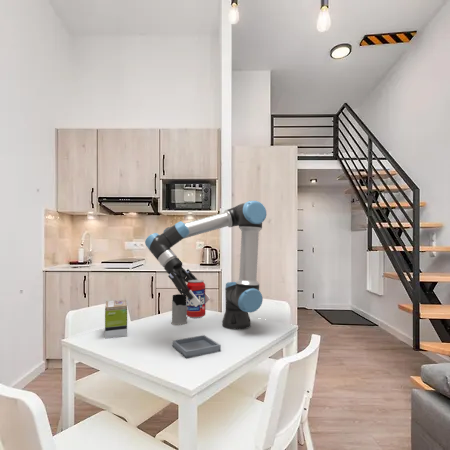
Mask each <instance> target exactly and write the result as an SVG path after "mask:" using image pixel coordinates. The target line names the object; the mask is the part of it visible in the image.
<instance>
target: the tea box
mask: <svg viewBox="0 0 450 450" xmlns="http://www.w3.org/2000/svg"><path fill="white" fill-rule="evenodd" d="M104 307H105V308H104V339H116V338H124V337H128V304H127V300H126V299H120V300H119V299H117V300H106V301H105V306H104Z"/></svg>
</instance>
